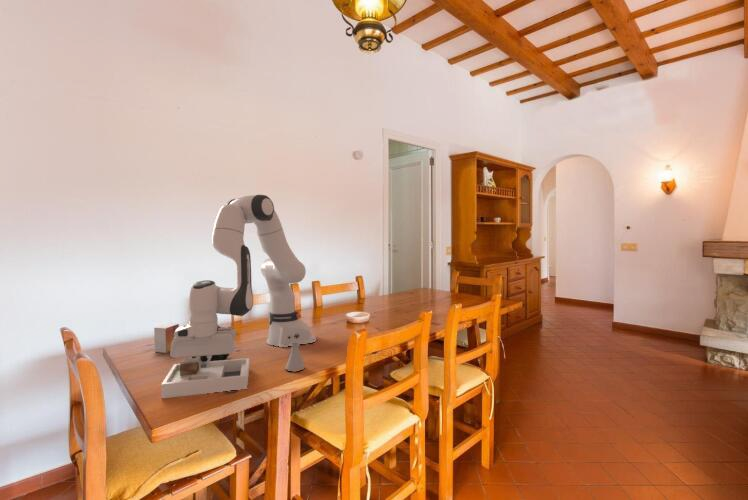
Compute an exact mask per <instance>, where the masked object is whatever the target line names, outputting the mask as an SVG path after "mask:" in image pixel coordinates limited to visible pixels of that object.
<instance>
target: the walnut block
mask: <svg viewBox="0 0 748 500" xmlns="http://www.w3.org/2000/svg"><path fill="white" fill-rule="evenodd" d="M179 364H180V376H184V375H195V374H197V372H198V370H199V364H198V362H197V361H196V358H192V357H188V358H182V360H181V361H180V363H179Z"/></svg>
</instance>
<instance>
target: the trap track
mask: <svg viewBox="0 0 748 500" xmlns="http://www.w3.org/2000/svg"><path fill="white" fill-rule="evenodd" d="M249 375H250V358H249V357H247V358H246V357H245V358H234V359H225V360H219V361H209V367H208V368H200V369H199V370H198V372H197V374H195V375H184V376H180V363H174V364H173V365H172V367H171V368H170V370H169V371H168V373H167V375H166V376H165V377H164V379H163V381H162V382H161V384H160V386H161V387H160V389H161V396H160V397H161V399H168V398H178V397H188V396H198V395H199V396H200V395H208V394H207V393H209V394H215V393H214V392H219V393H224V392H223V391H228V392H231V391H230V390H238V391H241V390H240V389H247V390H248V387H247V386H248V385H249V378H248V377H249Z"/></svg>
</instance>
